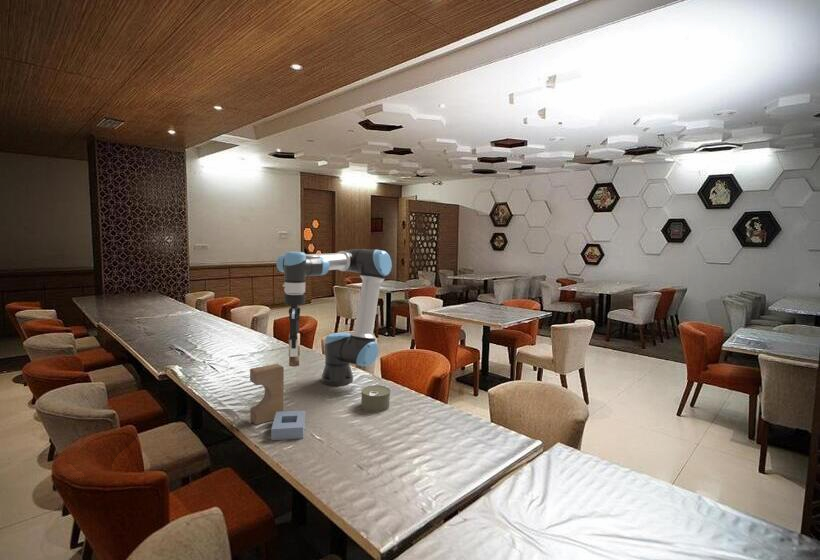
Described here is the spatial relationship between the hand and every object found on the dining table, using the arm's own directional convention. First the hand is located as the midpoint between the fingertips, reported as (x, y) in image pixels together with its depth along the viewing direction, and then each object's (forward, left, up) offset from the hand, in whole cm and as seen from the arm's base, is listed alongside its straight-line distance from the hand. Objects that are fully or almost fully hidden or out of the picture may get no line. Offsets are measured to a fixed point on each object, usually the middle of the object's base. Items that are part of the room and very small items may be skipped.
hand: (294, 354), depth 156 cm
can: (-32, -7, -25) cm, 41 cm away
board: (+1, +10, -25) cm, 27 cm away
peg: (0, 0, -4) cm, 4 cm away
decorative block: (+10, 0, -25) cm, 27 cm away
